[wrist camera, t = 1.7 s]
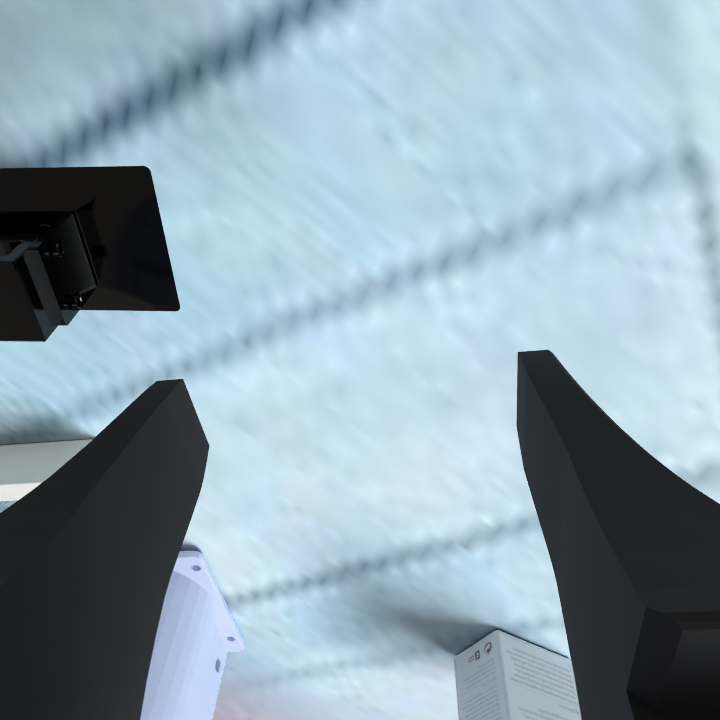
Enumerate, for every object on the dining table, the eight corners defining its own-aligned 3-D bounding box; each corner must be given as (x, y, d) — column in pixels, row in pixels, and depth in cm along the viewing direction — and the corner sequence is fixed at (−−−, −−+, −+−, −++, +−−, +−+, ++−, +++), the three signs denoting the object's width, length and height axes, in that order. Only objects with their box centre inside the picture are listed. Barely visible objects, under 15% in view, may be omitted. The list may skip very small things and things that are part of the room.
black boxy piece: (192, 137, 20) (146, 192, 16) (226, 323, 25) (197, 399, 21) (-171, 142, 21) (-294, 195, 17) (-74, 323, 25) (-155, 396, 21)
